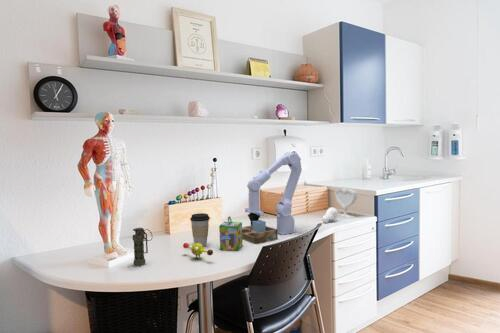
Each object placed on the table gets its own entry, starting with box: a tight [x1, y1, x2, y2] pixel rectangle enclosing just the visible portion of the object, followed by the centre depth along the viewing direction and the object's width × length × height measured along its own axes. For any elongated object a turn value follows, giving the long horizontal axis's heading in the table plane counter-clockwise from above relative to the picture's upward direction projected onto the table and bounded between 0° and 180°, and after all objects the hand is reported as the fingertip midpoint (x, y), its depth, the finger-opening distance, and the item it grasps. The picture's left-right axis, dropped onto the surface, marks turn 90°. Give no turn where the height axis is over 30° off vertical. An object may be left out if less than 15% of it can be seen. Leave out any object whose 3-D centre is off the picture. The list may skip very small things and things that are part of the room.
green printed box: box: [218, 215, 243, 251], centre depth 162 cm, size 9×9×15 cm
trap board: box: [242, 224, 279, 245], centre depth 180 cm, size 14×22×5 cm, turn 36°
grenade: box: [132, 227, 153, 267], centre depth 141 cm, size 9×6×15 cm, turn 132°
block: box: [252, 219, 267, 232], centre depth 180 cm, size 5×5×5 cm
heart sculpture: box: [334, 187, 358, 219], centre depth 227 cm, size 16×5×18 cm, turn 34°
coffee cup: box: [189, 212, 211, 248], centre depth 166 cm, size 9×9×15 cm
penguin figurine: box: [321, 206, 339, 224], centre depth 210 cm, size 6×8×12 cm
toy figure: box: [182, 242, 214, 260], centre depth 147 cm, size 18×6×7 cm, turn 50°
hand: (254, 227), depth 184 cm, fingers closed
